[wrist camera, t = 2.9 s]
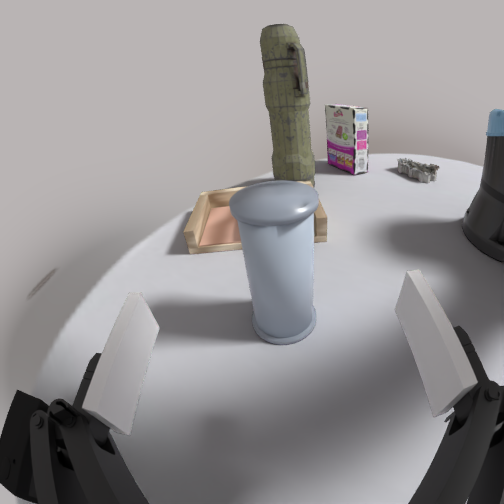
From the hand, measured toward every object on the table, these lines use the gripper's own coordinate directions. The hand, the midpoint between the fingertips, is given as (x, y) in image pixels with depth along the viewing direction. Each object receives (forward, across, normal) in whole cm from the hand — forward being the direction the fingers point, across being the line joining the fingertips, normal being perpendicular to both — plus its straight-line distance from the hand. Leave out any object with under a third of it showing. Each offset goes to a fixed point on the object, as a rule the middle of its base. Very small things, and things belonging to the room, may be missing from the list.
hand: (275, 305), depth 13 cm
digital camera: (-10, -21, -14) cm, 27 cm away
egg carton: (+50, +38, -13) cm, 64 cm away
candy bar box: (+56, +20, -12) cm, 61 cm away
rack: (+31, -2, -13) cm, 34 cm away
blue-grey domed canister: (+10, 0, -13) cm, 16 cm away
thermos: (+47, +6, -13) cm, 49 cm away
